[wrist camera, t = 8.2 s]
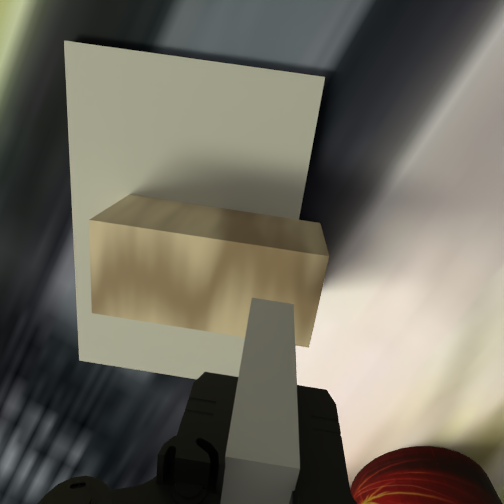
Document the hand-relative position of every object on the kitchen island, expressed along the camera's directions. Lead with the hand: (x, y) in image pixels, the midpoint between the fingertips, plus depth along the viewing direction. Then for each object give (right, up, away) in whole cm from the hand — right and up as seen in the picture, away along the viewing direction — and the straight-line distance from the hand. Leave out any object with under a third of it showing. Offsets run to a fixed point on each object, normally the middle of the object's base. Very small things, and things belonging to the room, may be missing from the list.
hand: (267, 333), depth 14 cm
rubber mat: (-4, +4, +7) cm, 9 cm away
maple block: (+2, +2, +5) cm, 5 cm away
